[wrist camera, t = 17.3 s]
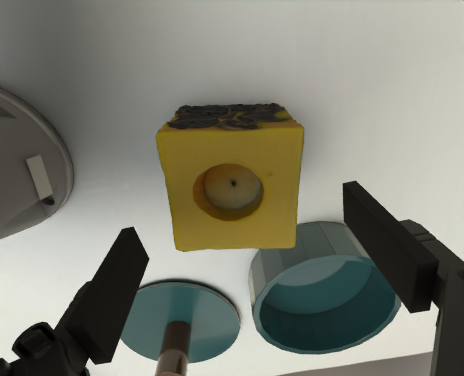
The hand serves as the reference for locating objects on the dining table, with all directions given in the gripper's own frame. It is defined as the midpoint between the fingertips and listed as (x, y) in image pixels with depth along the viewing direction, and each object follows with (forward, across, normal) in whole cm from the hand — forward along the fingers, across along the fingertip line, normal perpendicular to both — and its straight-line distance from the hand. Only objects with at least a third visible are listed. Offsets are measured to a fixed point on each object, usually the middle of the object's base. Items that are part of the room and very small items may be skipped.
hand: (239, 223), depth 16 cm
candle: (+13, 0, 0) cm, 13 cm away
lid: (+12, -14, -25) cm, 31 cm away
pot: (+13, +7, -20) cm, 25 cm away
